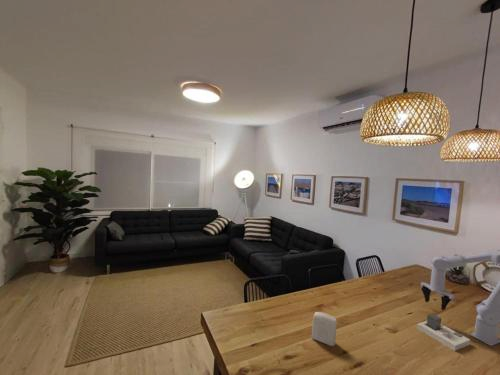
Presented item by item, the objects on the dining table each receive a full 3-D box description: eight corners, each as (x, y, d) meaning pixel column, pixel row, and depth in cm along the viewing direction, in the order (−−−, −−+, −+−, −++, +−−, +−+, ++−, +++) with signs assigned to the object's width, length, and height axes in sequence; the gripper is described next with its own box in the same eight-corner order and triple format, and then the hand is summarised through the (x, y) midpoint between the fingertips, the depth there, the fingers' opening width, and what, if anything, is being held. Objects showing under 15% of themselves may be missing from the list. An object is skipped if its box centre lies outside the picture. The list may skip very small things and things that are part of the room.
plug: (431, 326, 120) (432, 313, 120) (440, 331, 116) (441, 318, 116) (426, 328, 119) (427, 315, 118) (435, 333, 115) (436, 319, 114)
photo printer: (335, 342, 105) (338, 315, 104) (334, 348, 101) (336, 320, 101) (312, 333, 110) (314, 308, 109) (310, 338, 106) (312, 312, 106)
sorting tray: (431, 323, 124) (432, 318, 123) (469, 344, 109) (470, 338, 109) (417, 328, 119) (417, 322, 119) (454, 351, 104) (455, 344, 104)
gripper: (418, 275, 128) (415, 299, 128) (449, 287, 114) (446, 314, 115) (426, 273, 130) (423, 297, 131) (457, 285, 117) (454, 312, 118)
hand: (434, 305), depth 123 cm, fingers open, 7 cm apart
